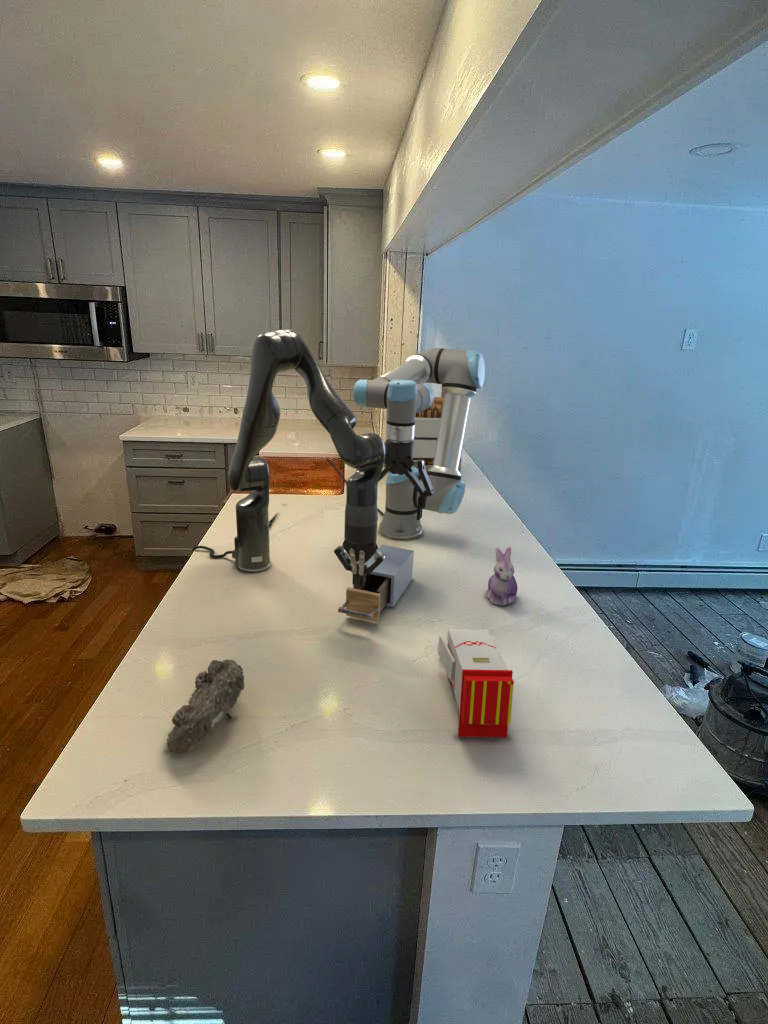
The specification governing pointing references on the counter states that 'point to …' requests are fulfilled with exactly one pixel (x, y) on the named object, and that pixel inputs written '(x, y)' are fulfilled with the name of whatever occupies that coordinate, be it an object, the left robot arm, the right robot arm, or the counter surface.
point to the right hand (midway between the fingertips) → (395, 515)
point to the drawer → (367, 598)
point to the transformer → (427, 432)
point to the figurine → (502, 580)
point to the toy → (478, 682)
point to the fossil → (206, 705)
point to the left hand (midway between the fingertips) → (358, 587)
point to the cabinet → (395, 569)
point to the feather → (272, 520)
